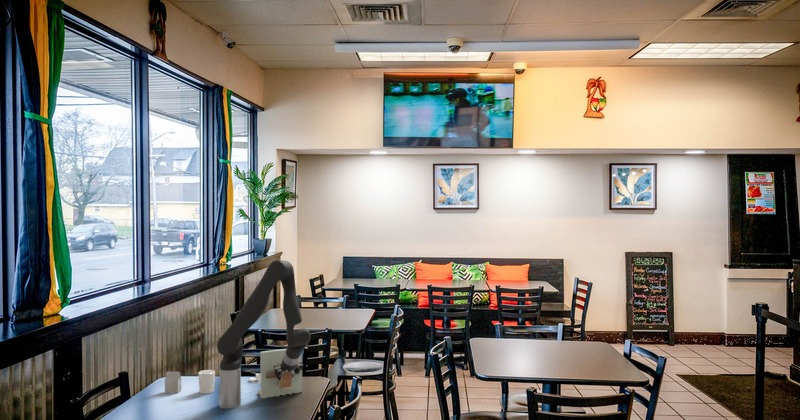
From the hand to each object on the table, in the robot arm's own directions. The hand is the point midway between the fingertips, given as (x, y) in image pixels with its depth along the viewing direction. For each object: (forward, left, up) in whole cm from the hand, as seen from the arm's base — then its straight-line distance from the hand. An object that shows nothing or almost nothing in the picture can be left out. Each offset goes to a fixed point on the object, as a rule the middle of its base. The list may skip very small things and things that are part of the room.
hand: (284, 377), depth 269 cm
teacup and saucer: (-5, +38, -11) cm, 39 cm away
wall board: (0, +8, -10) cm, 12 cm away
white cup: (-32, +28, -10) cm, 44 cm away
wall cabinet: (0, 0, -5) cm, 5 cm away
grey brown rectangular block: (-47, +36, -10) cm, 60 cm away
